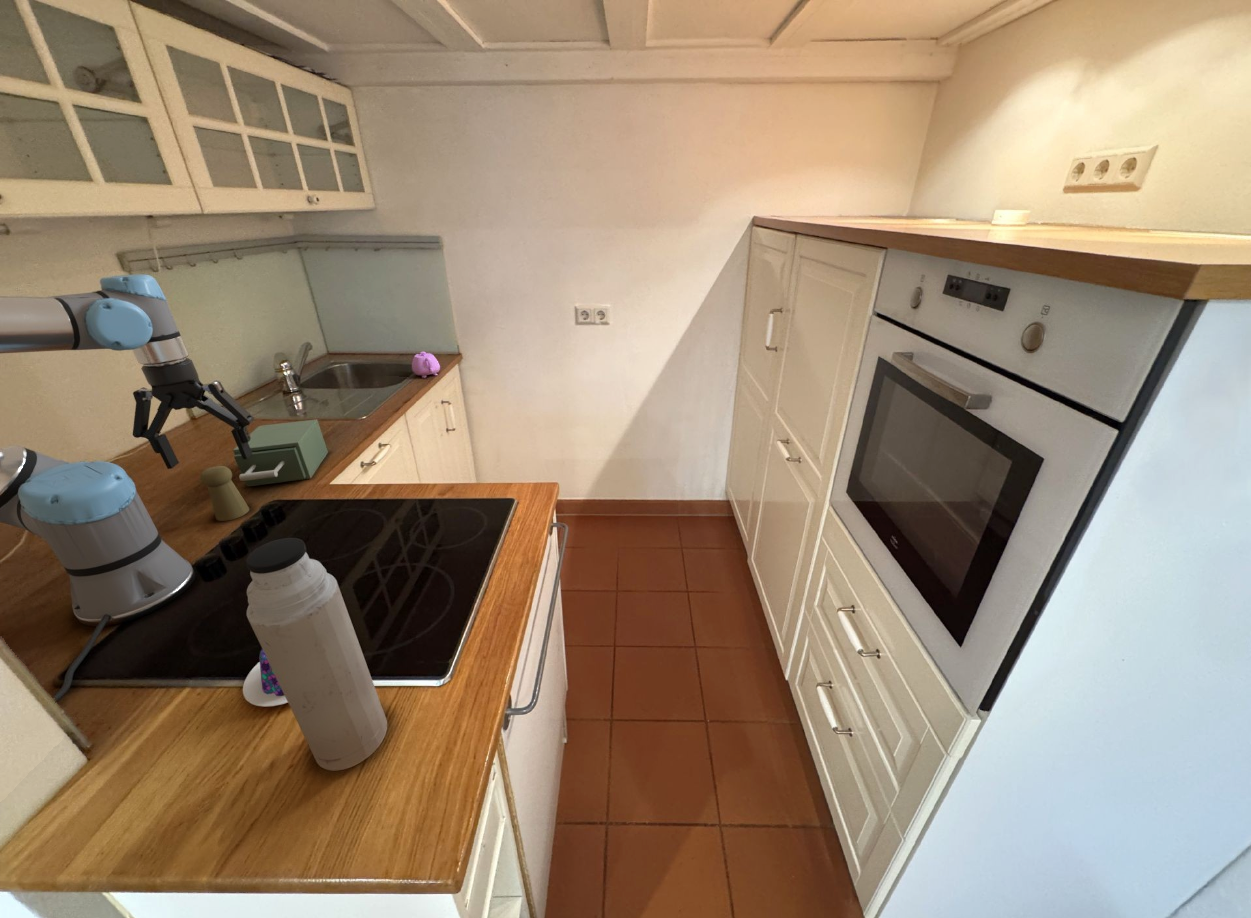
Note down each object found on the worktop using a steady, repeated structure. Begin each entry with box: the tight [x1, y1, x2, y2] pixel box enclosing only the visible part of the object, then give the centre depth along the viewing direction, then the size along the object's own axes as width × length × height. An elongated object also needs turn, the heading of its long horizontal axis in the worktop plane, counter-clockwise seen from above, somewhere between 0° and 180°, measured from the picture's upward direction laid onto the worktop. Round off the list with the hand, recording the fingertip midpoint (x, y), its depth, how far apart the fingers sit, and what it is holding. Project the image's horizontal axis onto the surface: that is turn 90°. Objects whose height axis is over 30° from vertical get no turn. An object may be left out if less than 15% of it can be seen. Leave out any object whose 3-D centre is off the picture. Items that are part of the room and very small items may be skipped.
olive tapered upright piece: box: [200, 465, 250, 522], centre depth 107 cm, size 6×6×11 cm
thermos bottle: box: [245, 537, 388, 772], centre depth 54 cm, size 8×8×28 cm
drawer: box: [234, 446, 306, 487], centre depth 122 cm, size 21×13×8 cm, turn 14°
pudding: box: [242, 648, 289, 707], centre depth 69 cm, size 12×12×5 cm
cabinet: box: [232, 419, 329, 487], centre depth 127 cm, size 16×14×10 cm
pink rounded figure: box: [411, 351, 441, 379], centre depth 202 cm, size 10×15×9 cm
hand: (211, 461), depth 104 cm, fingers open, 13 cm apart
